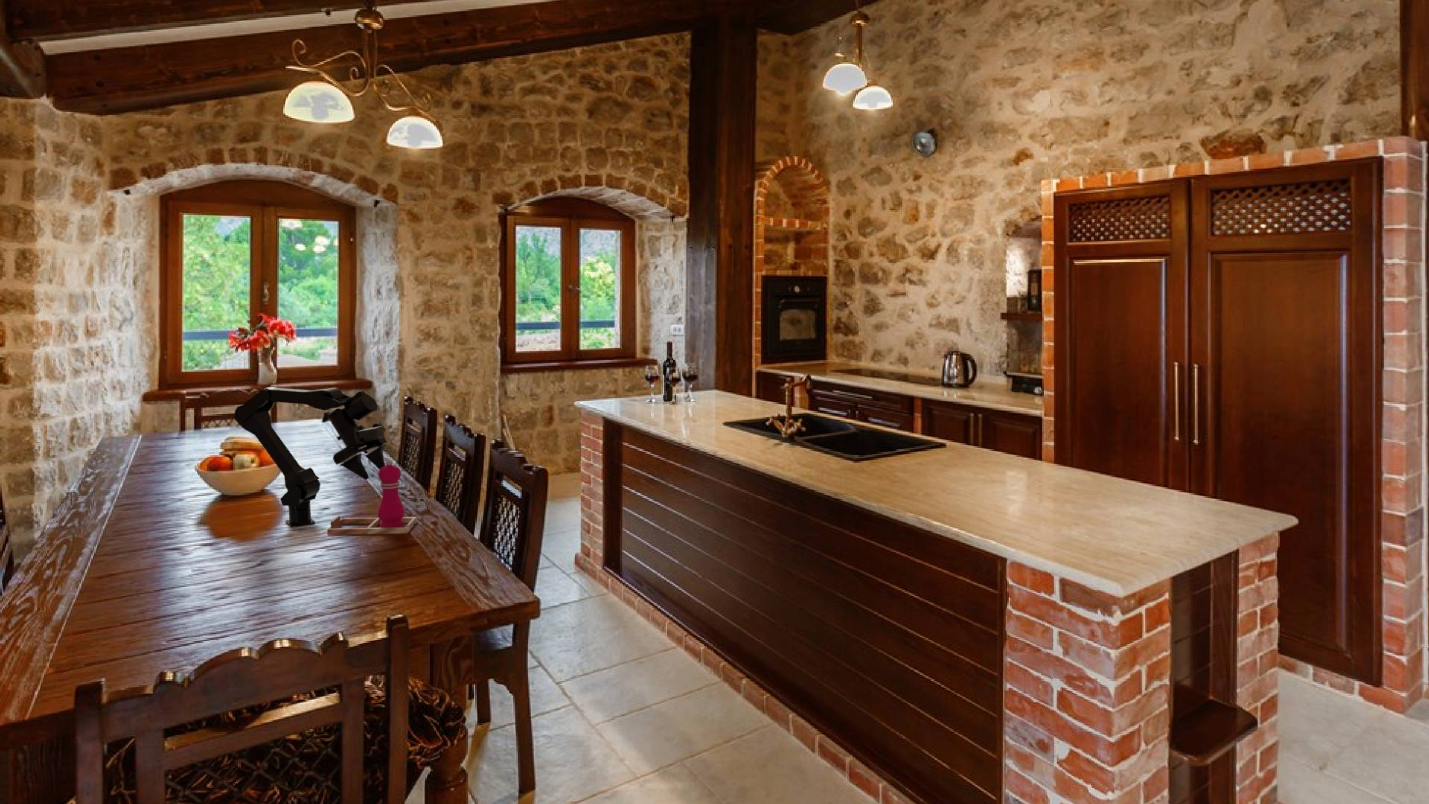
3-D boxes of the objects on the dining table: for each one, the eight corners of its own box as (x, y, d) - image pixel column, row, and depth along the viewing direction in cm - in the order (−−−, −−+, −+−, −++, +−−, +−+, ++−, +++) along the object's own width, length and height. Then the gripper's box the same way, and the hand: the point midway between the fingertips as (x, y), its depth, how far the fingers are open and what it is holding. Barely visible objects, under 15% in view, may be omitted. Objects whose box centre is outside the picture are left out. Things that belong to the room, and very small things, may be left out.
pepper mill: (396, 532, 230) (393, 463, 228) (373, 530, 232) (370, 461, 229) (410, 525, 237) (407, 458, 235) (388, 523, 239) (385, 456, 236)
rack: (327, 534, 227) (326, 524, 227) (341, 523, 238) (340, 513, 238) (406, 533, 230) (406, 522, 229) (416, 522, 241) (416, 512, 240)
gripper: (350, 419, 221) (380, 469, 222) (386, 409, 240) (414, 455, 240) (319, 439, 223) (349, 488, 224) (357, 427, 242) (385, 473, 242)
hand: (376, 475), depth 233 cm, fingers open, 9 cm apart
